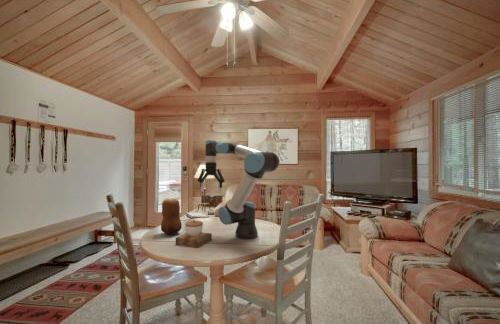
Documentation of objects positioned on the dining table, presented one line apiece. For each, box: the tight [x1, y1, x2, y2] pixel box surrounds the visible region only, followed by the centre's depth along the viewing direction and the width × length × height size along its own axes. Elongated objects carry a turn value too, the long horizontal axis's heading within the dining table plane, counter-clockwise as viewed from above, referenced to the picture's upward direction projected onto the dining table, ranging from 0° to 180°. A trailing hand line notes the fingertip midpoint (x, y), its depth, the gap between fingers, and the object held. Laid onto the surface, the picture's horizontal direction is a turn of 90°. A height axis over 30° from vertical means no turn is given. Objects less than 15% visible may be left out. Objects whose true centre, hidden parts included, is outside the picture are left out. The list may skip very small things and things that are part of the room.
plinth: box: [175, 231, 213, 249], centre depth 162 cm, size 16×16×4 cm
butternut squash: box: [160, 198, 183, 236], centre depth 179 cm, size 14×13×25 cm
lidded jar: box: [185, 219, 204, 237], centre depth 162 cm, size 11×11×9 cm
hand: (211, 192), depth 183 cm, fingers open, 13 cm apart
